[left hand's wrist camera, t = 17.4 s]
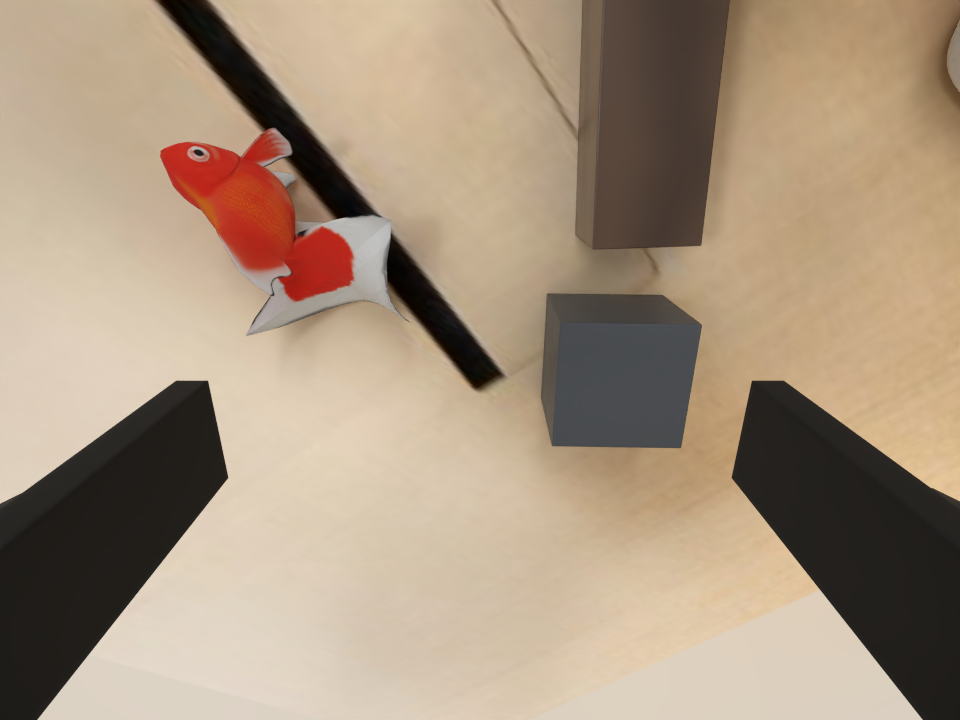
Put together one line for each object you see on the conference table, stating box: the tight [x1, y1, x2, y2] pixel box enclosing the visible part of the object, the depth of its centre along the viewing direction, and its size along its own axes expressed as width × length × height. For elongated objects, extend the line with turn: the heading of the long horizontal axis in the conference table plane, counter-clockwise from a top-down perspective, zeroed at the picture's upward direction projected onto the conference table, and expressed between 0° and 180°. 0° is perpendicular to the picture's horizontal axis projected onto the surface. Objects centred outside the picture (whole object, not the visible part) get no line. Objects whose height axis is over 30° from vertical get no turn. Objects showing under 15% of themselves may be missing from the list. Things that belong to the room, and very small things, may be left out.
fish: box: [160, 128, 409, 336], centre depth 31 cm, size 11×16×10 cm
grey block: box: [541, 294, 702, 448], centre depth 34 cm, size 8×8×7 cm
